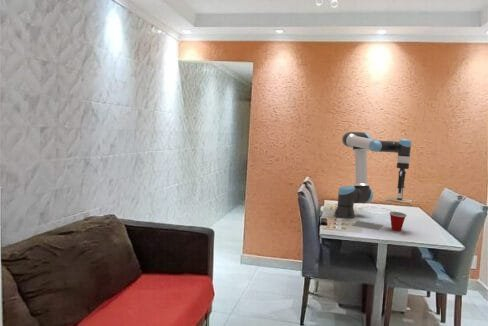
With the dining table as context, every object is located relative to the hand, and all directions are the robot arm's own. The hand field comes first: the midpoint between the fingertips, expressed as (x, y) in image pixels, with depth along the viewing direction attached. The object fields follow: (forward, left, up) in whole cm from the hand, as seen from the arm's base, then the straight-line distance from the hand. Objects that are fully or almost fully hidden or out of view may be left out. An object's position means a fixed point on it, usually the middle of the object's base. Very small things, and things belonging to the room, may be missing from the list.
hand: (399, 197), depth 281 cm
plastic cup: (0, 0, -23) cm, 23 cm away
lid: (0, 0, -2) cm, 2 cm away
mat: (0, -19, -23) cm, 30 cm away
